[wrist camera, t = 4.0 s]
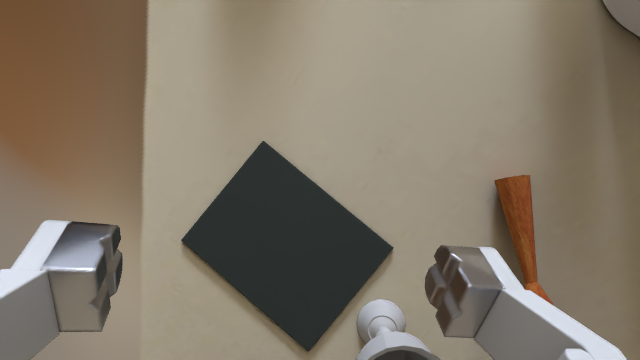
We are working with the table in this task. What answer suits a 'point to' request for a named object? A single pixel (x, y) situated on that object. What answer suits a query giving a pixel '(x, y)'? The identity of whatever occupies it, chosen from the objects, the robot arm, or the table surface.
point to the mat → (286, 245)
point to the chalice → (388, 334)
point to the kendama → (521, 226)
